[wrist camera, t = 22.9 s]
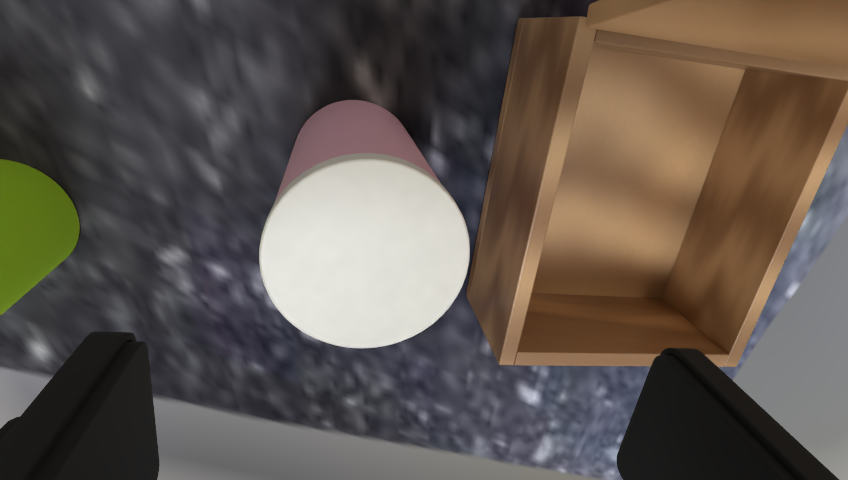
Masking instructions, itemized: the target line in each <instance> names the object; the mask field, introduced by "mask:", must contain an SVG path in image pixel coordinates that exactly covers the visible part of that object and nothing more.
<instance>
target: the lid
mask: <svg viewBox="0 0 848 480" xmlns="http://www.w3.org/2000/svg"><path fill="white" fill-rule="evenodd" d="M586 27H587V28H592V29H598V30H605V31H611V32H617V33H624V34H630V35H636V36H642V37H649V38H655V39H661V40H668V41H674V42H680V43H686V44H693V45H699V46H705V47H712V48H718V49H724V50H730V51H737V52H743V53H749V54H756V55H762V56H768V57H774V58H781V59H787V60H793V61H800V62H806V63H812V64H818V65H825V66H831V67H837V68H844V69H848V0H599V1H596V2H594V3H592V4H590V5H589V8H588V13H587V19H586Z"/></svg>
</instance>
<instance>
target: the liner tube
mask: <svg viewBox="0 0 848 480" xmlns="http://www.w3.org/2000/svg"><path fill="white" fill-rule="evenodd" d="M469 257H470V244H469V235H468V231H467V226H466V224H465V221H464V218H463V216H462V213H461V212H460V210H459V208H458V206H457V204H456V203H455V201H454V200H453V198H452V197H451V195H450V194H449V193H448V191H447V190H446V189H445V187H444V186H443V185H442V184H441V183H440V181H439V180H438V178H437V177H436V175H435V174H434V172H433V171H432V169H431V168H430V166H429V164H428V163H427V161H426V160H425V158H424V157H423V155H422V154H421V152H420V151H419V149H418V148H417V146H416V145H415V143H414V141H413V140H412V138H411V137H410V135H409V134H408V132H407V131H406V129H405V128H404V126H403V125H402V124H401V122H400V121H399V120H398V119H397V118H396V117H395V116H394V115H393V114H391V113H390V112H389V111H388V110H386V109H384V108H382V107H381V106H378V105H376V104H374V103H370V102H367V101H361V100H345V101H339V102H335V103H332V104H330V105H327V106H325V107H323V108H322V109H320V110H318V111H317V112H316V113H314V114H313V115H312V116H311V117H310V118H309V119H308V120H307V121H306V123H305V124H304V125H303V127H302V128H301V130H300V132H299V134H298V136H297V139H296V142H295V145H294V148H293V151H292V154H291V157H290V160H289V162H288V165H287V168H286V171H285V174H284V177H283V180H282V183H281V186H280V189H279V191H278V194H277V197H276V200H275V203H274V205H273V207H272V209H271V211H270V213H269V215H268V218H267V221H266V224H265V226H264V229H263V232H262V236H261V242H260V247H259V263H260V271H261V276H262V279H263V283H264V286H265V288H266V290H267V293H268V295H269V297H270V298H271V300H272V302H273V303H274V305H275V306H276V308H277V309H278V310H279V311H280V312H281V314H282V315H283V316H284V317H285V318H286V319H287V320H288V321H289V322H290V323H291V324H293V325H294V326H295V327H297V328H298V329H299V330H301V331H302V332H304V333H306V334H308V335H309V336H311V337H313V338H315V339H318V340H320V341H323V342H326V343H329V344H333V345H337V346H342V347H349V348H374V347H381V346H386V345H391V344H394V343H397V342H401V341H403V340H406V339H408V338H410V337H413V336H414V335H416V334H418V333H420V332H422V331H423V330H425V329H426V328H428V327H429V326H430V325H432V324H433V323H434V322H435V321H437V320H438V319H439V318H440V317H441V316H442V315H443V314H444V313H445V312H446V310H447V309H448V308H449V307H450V306H451V304H452V303H453V301H454V300H455V298H456V297H457V295H458V293H459V291H460V289H461V287H462V285H463V283H464V280H465V277H466V274H467V270H468V265H469Z"/></svg>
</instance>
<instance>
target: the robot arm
mask: <svg viewBox="0 0 848 480" xmlns="http://www.w3.org/2000/svg"><path fill="white" fill-rule="evenodd" d="M617 467H618V470H619V473H620V475H621V477H622V478H623V480H839V479H838V478H837V477H836V476H835V475H833V474H832V473H831V472H830V471H829V470H828V469H827V468H826V467H825V466H824V465H823V464H822V463H821V462H819V461H818V460H817V459H816V458H815V457H814V456H813V455H812V454H811V453H810V452H809V451H808V450H806V449H805V448H804V447H803V446H802V445H801V444H800V443H799V442H798V441H797V440H796V439H795V438H794V437H793V436H791V435H790V434H789V433H788V432H787V431H786V430H785V429H784V428H783V427H782V426H781V425H780V424H779V423H778V422H776V421H775V420H774V419H773V418H772V417H771V416H770V415H769V414H768V413H767V412H765V410H763V409H762V408H761V407H760V406H759V405H758V404H757V403H756V402H755V401H754V400H753V399H752V398H751V397H749V396H748V395H747V394H746V393H745V392H744V391H743V390H742V389H741V388H740V387H739V386H738V385H737V384H736V383H734V382H733V381H732V380H731V379H730V378H729V377H728V376H727V375H726V374H725V373H724V372H723V371H722V370H720V369H719V368H718V367H717V366H716V365H715V364H714V363H713V362H712V361H711V360H710V359H709V358H708V357H706V356H705V355H704V354H703V353H702V352H701V351H699V350H697V349H693V348H667V349H664V350H663V351H662V352H661V354H660V355H658V356H657V357H655V359H654V360H653V363H652V365H651V368H650V370H649V373H648V376H647V378H646V381H645V384H644V386H643V389H642V391H641V394H640V397H639V399H638V402H637V404H636V407H635V410H634V412H633V415H632V417H631V420H630V423H629V425H628V428H627V431H626V433H625V436H624V438H623V441H622V444H621V446H620V449H619V451H618V455H617ZM158 472H159V455H158V445H157V436H156V425H155V416H154V406H153V396H152V386H151V376H150V366H149V356H148V348H147V345H146V343H145V342H136V338H135V336H134V334H132V333H125V332H92V333H90V334H89V335H88V336H87V337H86V338H85V339H84V340H83V342H82V343H81V344H80V345H79V346H78V348H77V349H76V350H75V351H74V352H73V354H72V355H71V356H70V357H69V358H68V360H67V361H66V362H65V363H64V364H63V366H62V367H61V368H60V369H59V371H58V372H57V373H56V374H55V375H54V377H53V378H52V379H51V380H50V381H49V383H48V384H47V385H46V386H45V387H44V389H43V390H42V391H41V392H40V394H39V395H38V396H37V397H36V398H35V400H34V401H33V402H32V403H31V404H30V406H29V407H28V408H27V409H26V410H25V412H24V413H23V414H22V415H21V416H20V417H16V418H14V419H12V420H10V421H8V422H7V423H6V424H5V425H4V426H3V427H2V428H1V429H0V480H157V477H158Z"/></svg>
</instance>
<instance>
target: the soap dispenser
mask: <svg viewBox="0 0 848 480" xmlns="http://www.w3.org/2000/svg"><path fill="white" fill-rule="evenodd" d="M79 232H80V224H79V218H78V214H77V211H76V209H75V207H74V205H73V203H72V201H71V199H70V198H69V196H68V195H67V194H66V192H65V191H64V190H63V189H62V188H61V187H60V186H59V185H58V184H57V183H56V182H55V181H53V180H52V179H51V178H49V177H48V176H47V175H45V174H44V173H42V172H40V171H38V170H36V169H34V168H32V167H30V166H27V165H25V164H22V163H19V162H15V161H10V160H4V159H0V316H1V315H2V314H3V313H4V312H5V311H6V310H7V309H9V308H10V307H11V306H12V305H13V304H14V303H15V302H17V301H18V300H19V299H20V298H21V297H22V296H23V295H25V294H26V293H27V292H28V291H29V290H30V289H32V288H33V287H34V286H35V285H36V284H37V283H38V282H40V281H41V280H42V279H43V278H44V277H45V276H46V275H48V274H49V273H50V272H51V271H52V270H53V269H54V268H56V267H57V266H58V265H59V264H60V263H61V262H62V261H64V260H65V259H66V258H67V257H68V256H69V255H70V254H71V253H72V251H73V250H74V248H75V246H76V244H77V241H78V238H79Z"/></svg>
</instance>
